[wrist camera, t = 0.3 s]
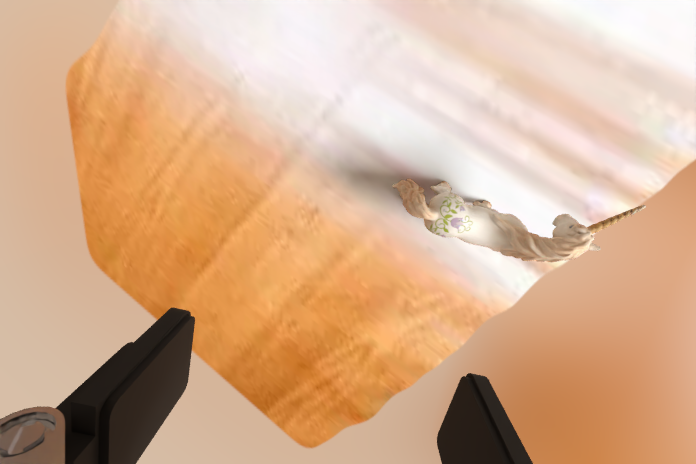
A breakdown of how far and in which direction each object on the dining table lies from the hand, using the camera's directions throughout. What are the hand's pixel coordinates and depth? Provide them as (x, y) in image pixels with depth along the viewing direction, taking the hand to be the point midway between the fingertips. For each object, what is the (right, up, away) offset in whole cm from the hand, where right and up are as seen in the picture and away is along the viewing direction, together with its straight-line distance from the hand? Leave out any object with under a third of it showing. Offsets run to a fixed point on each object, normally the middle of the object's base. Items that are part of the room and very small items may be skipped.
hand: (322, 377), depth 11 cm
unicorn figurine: (+16, +10, +29) cm, 35 cm away
